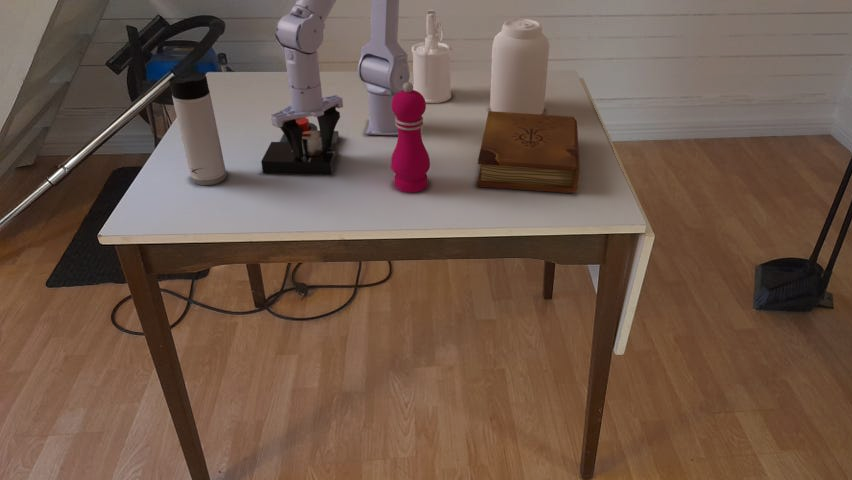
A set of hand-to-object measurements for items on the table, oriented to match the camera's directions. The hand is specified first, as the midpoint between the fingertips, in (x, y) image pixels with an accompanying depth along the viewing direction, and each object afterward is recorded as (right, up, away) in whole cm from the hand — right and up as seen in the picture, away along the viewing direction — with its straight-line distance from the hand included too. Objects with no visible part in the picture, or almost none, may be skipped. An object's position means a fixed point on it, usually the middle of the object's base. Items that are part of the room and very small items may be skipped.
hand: (312, 150), depth 137 cm
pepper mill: (+20, -7, -4) cm, 21 cm away
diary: (+42, -2, +5) cm, 43 cm away
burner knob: (0, 0, 0) cm, 0 cm away
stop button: (-4, +5, +7) cm, 10 cm away
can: (+41, +13, +26) cm, 50 cm away
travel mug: (-18, -6, -4) cm, 20 cm away
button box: (-3, +3, +9) cm, 10 cm away
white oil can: (+21, +18, +31) cm, 42 cm away
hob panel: (-3, -2, +2) cm, 4 cm away
